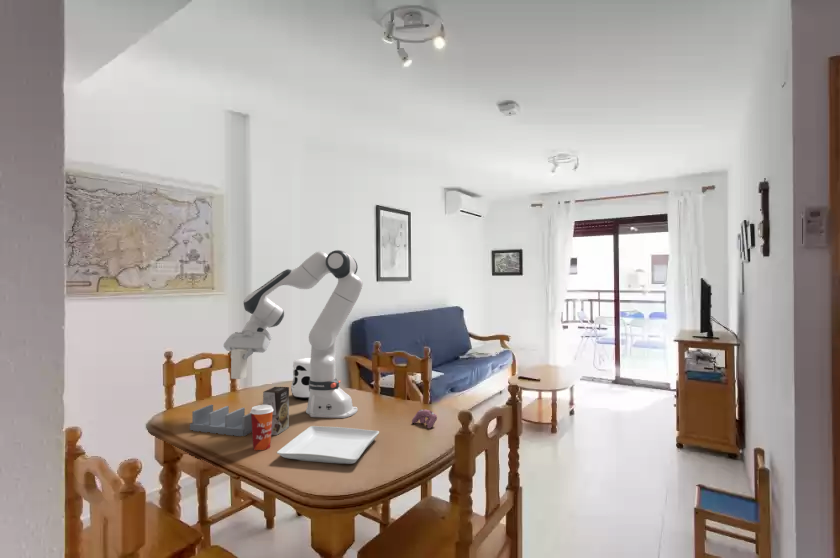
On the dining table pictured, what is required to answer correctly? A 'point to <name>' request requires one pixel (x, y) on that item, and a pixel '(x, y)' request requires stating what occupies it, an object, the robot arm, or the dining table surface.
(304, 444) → the square plate
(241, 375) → the cream block
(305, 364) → the milk container
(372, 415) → the dining table surface
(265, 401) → the coffee box
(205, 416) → the rack
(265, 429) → the paper cup
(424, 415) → the purple arched piece
